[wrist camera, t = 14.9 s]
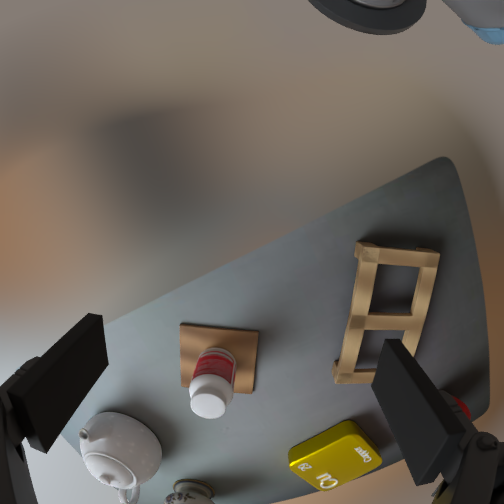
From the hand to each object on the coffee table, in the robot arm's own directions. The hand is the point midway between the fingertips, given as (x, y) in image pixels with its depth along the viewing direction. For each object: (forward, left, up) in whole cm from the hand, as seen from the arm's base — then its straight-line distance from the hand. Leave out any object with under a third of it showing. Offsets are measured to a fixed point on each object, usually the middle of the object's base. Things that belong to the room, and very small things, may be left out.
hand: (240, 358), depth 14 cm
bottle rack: (+11, +21, -32) cm, 40 cm away
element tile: (+43, +20, -32) cm, 57 cm away
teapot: (+45, -23, -32) cm, 60 cm away
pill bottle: (+21, -4, -31) cm, 38 cm away
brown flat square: (+21, -4, -32) cm, 38 cm away
